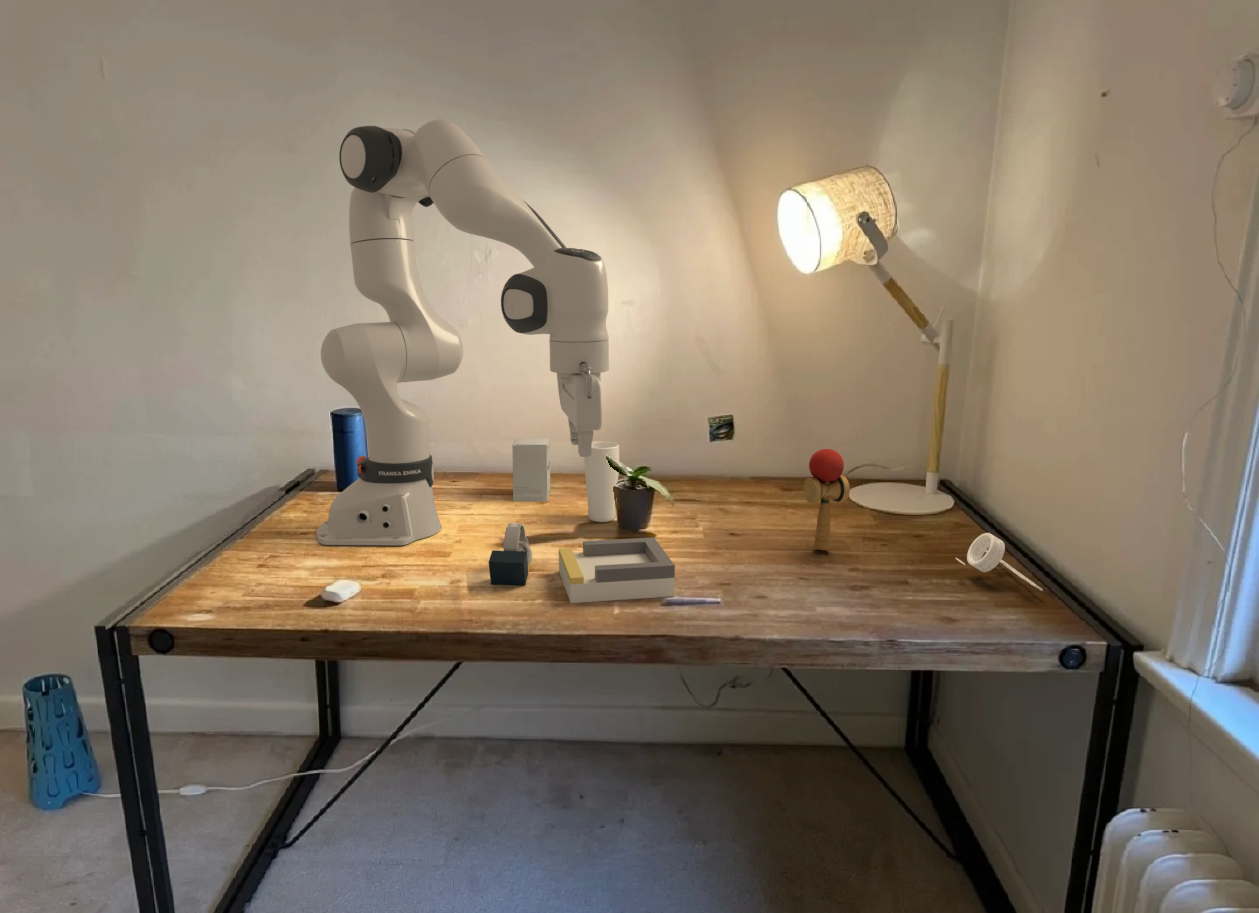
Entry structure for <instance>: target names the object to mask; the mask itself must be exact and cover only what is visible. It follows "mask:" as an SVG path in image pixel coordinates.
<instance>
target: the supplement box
mask: <svg viewBox="0 0 1259 913" xmlns="http://www.w3.org/2000/svg"><path fill="white" fill-rule="evenodd" d="M511 446H512V501H513V502H533V503H535V502H536V503H537V502H538V503H539V502H542V503H544V502H545V503H548V500H549V496H550V494H551V439H550V438H549V437H516V439H515V440H514V442H513V444H512V445H511Z"/></svg>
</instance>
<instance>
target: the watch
mask: <svg viewBox="0 0 1259 913" xmlns="http://www.w3.org/2000/svg"><path fill="white" fill-rule="evenodd" d="M504 533H505V534H504V539H503V542H502V543H503V546H502V547H503V550H497V549H496V550H492V551H491V554H490V556H489V560H488V568H489V577H490V578H489V579H490V585H506V586H508V585H509V586H511V585H512V586H526V585H527V580H528V577H529V565H530V563H531V562H532V559H533V551H532V549H531V546H530V542H529V539H528V537H526V529H525V525H524V524H523V523H518V522H509V523H508V524H507V527H506V528H505V532H504Z"/></svg>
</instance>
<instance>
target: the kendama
mask: <svg viewBox="0 0 1259 913" xmlns="http://www.w3.org/2000/svg"><path fill="white" fill-rule="evenodd" d="M808 464H809V465H808V469H809V472H810V474H811V476H812V477H808V478H807V479H805V481H804V484H803V489H802V490H803V494H804V498H805V500H806V501H807V502H808V503H811V504H812V503H817V502H819V501H820V503H819V507H818V513H817V520H816V529H815V536H814V542H813V549H816V550H817V551H818V550H819V551H828V550H830V549H831V508H830V506H831V505H830V498H831V499H832V500H833V501H834V502H836V503H841V502H842V503H843V502H845V501H847V499H849V496H850V492H851V491H850V490H851V489H850V483H849V480H848V478H846V476H845V475H843V472H844V468H845V462H844V460H843V457H842V456H841V454H840V453H839V452H838V451H836V450H835V449H832V448H831V449H830V448H822V449H819V450H817V451H816V452H814V453H813V454H812V455H811V457H810V458H809V462H808Z"/></svg>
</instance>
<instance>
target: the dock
mask: <svg viewBox="0 0 1259 913" xmlns="http://www.w3.org/2000/svg"><path fill="white" fill-rule="evenodd" d="M675 566H676V565H675V563H673V561H672V559H671V558H670V557H669V555H668V554H667V553H666V551H665V550H664V549H663V547H662V546H661V545H660V543H659V542H658V541H657V540H656V538H655V537H654V536H653V537H639V538H638V537H637V538H636V537H635V538H620V539H618V538H616V539H602V540H601V539H599V540H583V541H582V552H575V553H574V551H573V550H572V547H560V548H558V573H559V576H560V578H561V581H562V583H563V586H564V589H565V592H566V594H567V597H568V600H569V602H570V604H577V603H579V604H581V603H595V602H597V603H598V602H609V601H610V602H611V601H624V600H625V601H626V600H638V599H652V598H654V599H655V598H656V599H657V598H668V597H675V574H676V572H675V571H676V570H675V569H676V567H675Z"/></svg>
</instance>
